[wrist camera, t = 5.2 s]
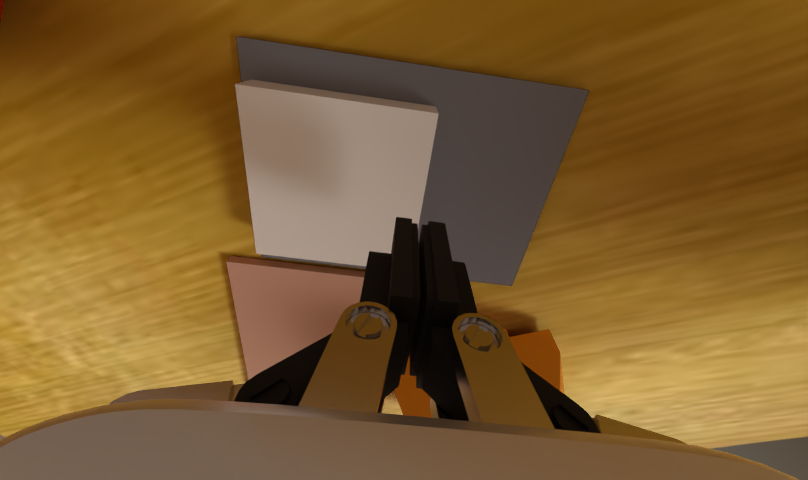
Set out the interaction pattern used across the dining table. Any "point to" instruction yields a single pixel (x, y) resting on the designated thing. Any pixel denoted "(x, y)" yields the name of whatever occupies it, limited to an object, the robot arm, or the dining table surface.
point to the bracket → (532, 352)
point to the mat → (453, 142)
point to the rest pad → (287, 306)
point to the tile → (331, 169)
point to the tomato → (1, 7)
